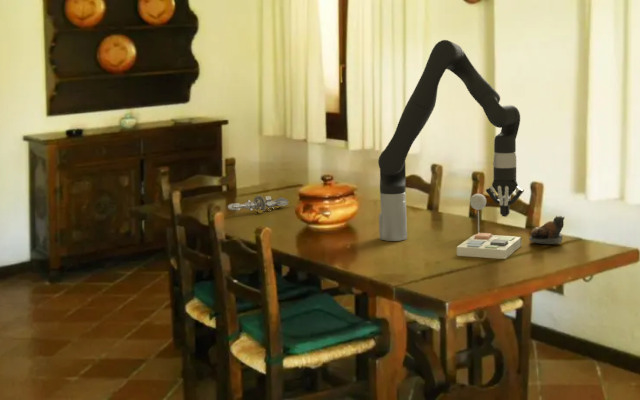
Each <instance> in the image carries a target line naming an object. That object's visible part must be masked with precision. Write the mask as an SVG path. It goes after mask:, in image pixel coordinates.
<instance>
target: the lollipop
mask: <svg viewBox="0 0 640 400" xmlns="http://www.w3.org/2000/svg"><path fill="white" fill-rule="evenodd" d="M469 204H470V207H471V208H472V209H474V210H476V211H477V234H478V233H480V211H481V210H483V209H484V208H485V207H486V205H487V198H486V196H485V195H483V194H482V193H474V194H473V195H472V196H471V197H470V200H469Z"/></svg>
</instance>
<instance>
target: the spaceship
mask: <svg viewBox="0 0 640 400" xmlns="http://www.w3.org/2000/svg"><path fill="white" fill-rule="evenodd" d="M289 204H290V202H289V199H287V198H284V197H282V196H280V197H279V198H277V199H275V198H274V199H272V197H271V196H270V195H269V196H265V198H264V197H263V196H262V195H256V196H255V197H254V198H253V200H252V201H251V200H250V199H248V200H246V202H244V203H237V202H236V203H229V204H227V207H226V208H227V209H228V210H230V211H240V210H241V209H245V210H249V212H252V211H253V210H254V209H256V210H258V209H259V210H263V211H264V212H265V211H266V209H267V210H268V209H269V208H271V207H272V208H273V209H274V208H275V206H283V207H285V205H286V206H288V205H289Z"/></svg>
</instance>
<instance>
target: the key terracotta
mask: <svg viewBox="0 0 640 400" xmlns="http://www.w3.org/2000/svg"><path fill="white" fill-rule="evenodd" d="M475 234H476V235H475ZM475 234H474V235H475V239H487V240H489V239H490V238H491V237H492V235H493V233H490V232H489V233H488V232H479V233H478V232H477V233H475Z"/></svg>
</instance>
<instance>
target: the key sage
mask: <svg viewBox="0 0 640 400" xmlns="http://www.w3.org/2000/svg"><path fill="white" fill-rule="evenodd" d="M513 239H514V237H500V238H499V240H508V241H512V240H513Z"/></svg>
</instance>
